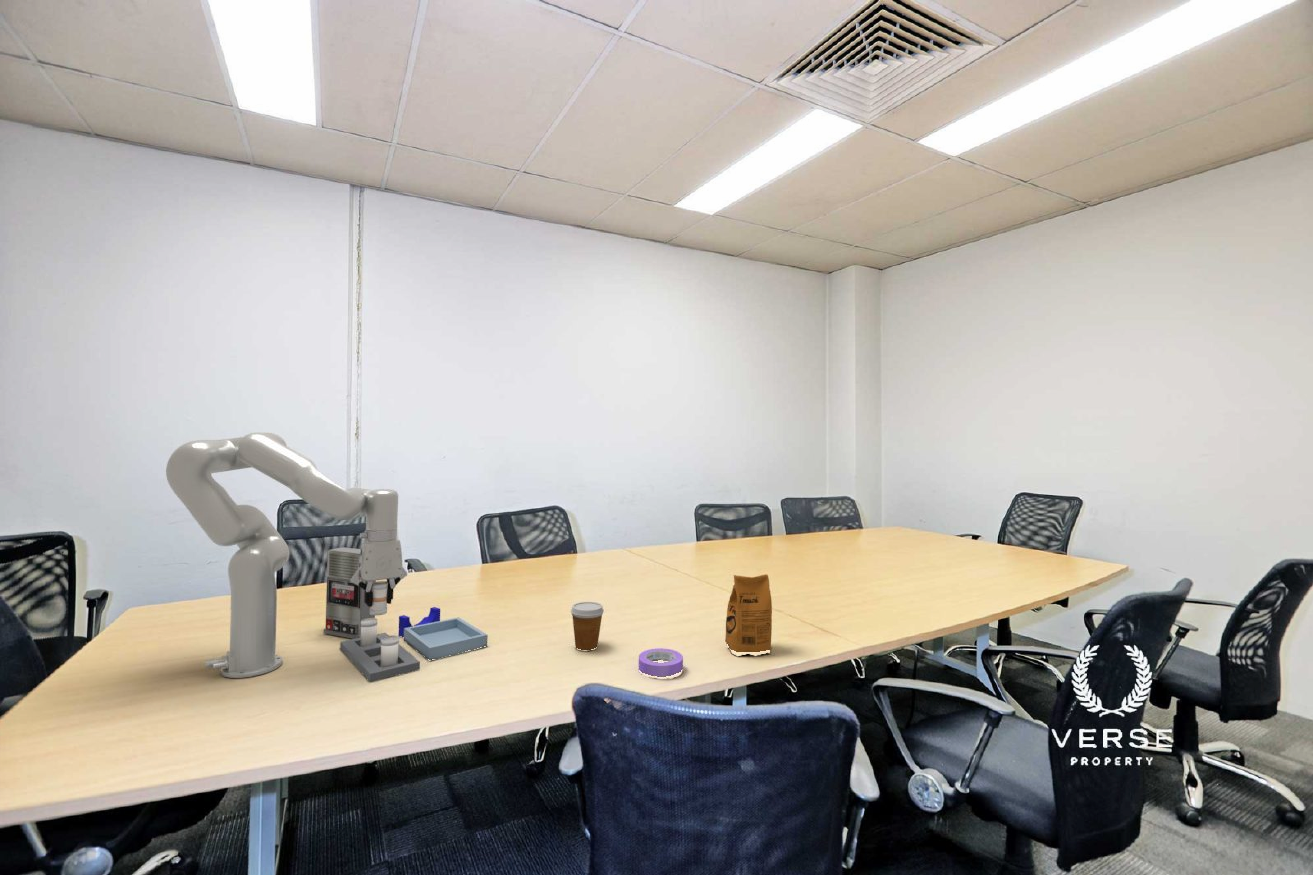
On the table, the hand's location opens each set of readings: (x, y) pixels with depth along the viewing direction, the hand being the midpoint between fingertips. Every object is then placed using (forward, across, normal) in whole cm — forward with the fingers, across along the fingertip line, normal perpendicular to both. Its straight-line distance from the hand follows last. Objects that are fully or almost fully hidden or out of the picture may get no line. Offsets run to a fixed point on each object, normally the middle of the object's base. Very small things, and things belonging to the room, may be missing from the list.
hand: (378, 603), depth 150 cm
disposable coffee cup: (+14, +48, -28) cm, 58 cm away
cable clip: (+15, +16, +15) cm, 27 cm away
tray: (+15, +18, 0) cm, 23 cm away
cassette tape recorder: (+15, -1, +25) cm, 29 cm away
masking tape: (+14, +54, -53) cm, 77 cm away
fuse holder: (+15, 0, 0) cm, 15 cm away
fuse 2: (+15, 0, -9) cm, 17 cm away
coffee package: (+14, +83, -59) cm, 103 cm away
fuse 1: (+15, 0, +9) cm, 17 cm away
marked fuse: (+3, 0, 0) cm, 3 cm away
